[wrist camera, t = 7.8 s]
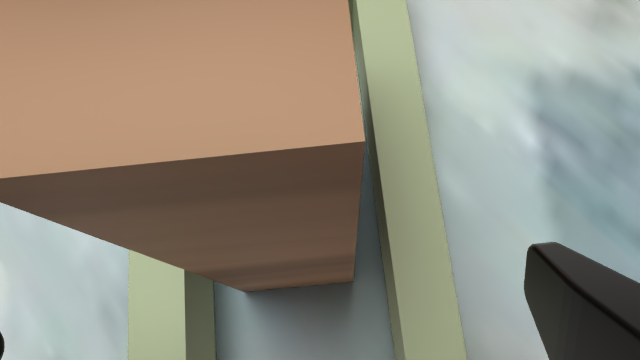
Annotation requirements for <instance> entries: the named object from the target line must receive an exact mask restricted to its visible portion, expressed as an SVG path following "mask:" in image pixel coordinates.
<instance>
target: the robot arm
mask: <svg viewBox="0 0 640 360" xmlns="http://www.w3.org/2000/svg"><path fill="white" fill-rule="evenodd" d="M524 292H525V297H526V300H527V303H528V305H529V308H530V311H531V313H532V316H533V318H534V321H535V324H536V326H537V329H538V331H539V334H540V337H541V339H542V342H543V344H544V347H545V350H546V352H547V355H548V357H549V360H640V283H638V282H636V281H634V280H632V279H630V278H628V277H626V276H624V275H622V274H620V273H618V272H616V271H614V270H612V269H610V268H608V267H606V266H604V265H602V264H600V263H598V262H596V261H594V260H592V259H590V258H588V257H586V256H584V255H581V254H579V253H577V252H575V251H573V250H571V249H569V248H567V247H565V246H563V245H561V244H559V243H557V242H548V243H539V244H532V245H531V246H530V247H529V248H528V251H527V258H526V269H525V280H524ZM3 352H4V338H3V336H2V334H1V332H0V360H1V358H2V356H3Z"/></svg>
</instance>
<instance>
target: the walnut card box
mask: <svg viewBox="0 0 640 360" xmlns="http://www.w3.org/2000/svg"><path fill="white" fill-rule="evenodd" d="M364 148H365V136H364V128H363V120H362V112H361V103H360V95H359V87H358V79H357V70H356V62H355V54H354V46H353V37H352V29H351V21H350V13H349V4H348V0H0V202H1V203H4V204H7V205H10V206H12V207H15V208H18V209H20V210H23V211H26V212H29V213H31V214H34V215H37V216H39V217H42V218H45V219H48V220H50V221H53V222H56V223H59V224H61V225H64V226H67V227H69V228H72V229H75V230H78V231H80V232H83V233H86V234H88V235H91V236H94V237H97V238H99V239H102V240H105V241H107V242H110V243H113V244H116V245H118V246H121V247H124V248H127V249H129V250H132V251H135V252H137V253H140V254H143V255H146V256H148V257H151V258H154V259H156V260H159V261H162V262H165V263H167V264H170V265H173V266H175V267H178V268H181V269H184V270H186V271H189V272H192V273H194V274H197V275H200V276H203V277H205V278H208V279H211V280H214V281H216V282H219V283H222V284H224V285H227V286H230V287H233V288H235V289H238V290H241V291H243V292H247V291H258V290H269V289H279V288H290V287H300V286H311V285H322V284H332V283H343V282H353V277H354V265H355V253H356V242H357V230H358V218H359V207H360V195H361V183H362V172H363V160H364Z"/></svg>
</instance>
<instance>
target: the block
mask: <svg viewBox="0 0 640 360" xmlns="http://www.w3.org/2000/svg"><path fill="white" fill-rule="evenodd" d="M348 4H349V13H350V21H351V29H352V32H353V39H354V47H355V54H356V62H357V70H358V77H359V85H360V92H361V100H362V108H363V115H364V123H365V130H366V138H367V146H368V153H369V161H370V168H371V176H372V183H373V191H374V199H375V206H376V214H377V221H378V229H379V237H380V244H381V252H382V259H383V267H384V274H385V282H386V290H387V297H388V305H389V312H390V320H391V328H392V335H393V343H394V350H395V358H396V360H467V355H466V350H465V344H464V338H463V332H462V326H461V320H460V314H459V309H458V303H457V297H456V291H455V285H454V279H453V273H452V267H451V262H450V256H449V250H448V244H447V238H446V232H445V226H444V220H443V215H442V209H441V203H440V197H439V191H438V185H437V179H436V174H435V168H434V162H433V156H432V150H431V144H430V138H429V132H428V127H427V121H426V115H425V109H424V103H423V97H422V91H421V85H420V80H419V74H418V68H417V62H416V56H415V50H414V44H413V39H412V33H411V27H410V21H409V15H408V9H407V3H406V0H348ZM128 360H216V349H215V320H214V291H213V280H211V279H208V278H205V277H203V276H200V275H197V274H194V273H192V272H189V271H186V270H184V269H181V268H178V267H175V266H173V265H170V264H167V263H165V262H162V261H159V260H156V259H154V258H151V257H148V256H146V255H143V254H140V253H137V252H135V251H132V250H129V291H128Z"/></svg>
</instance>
